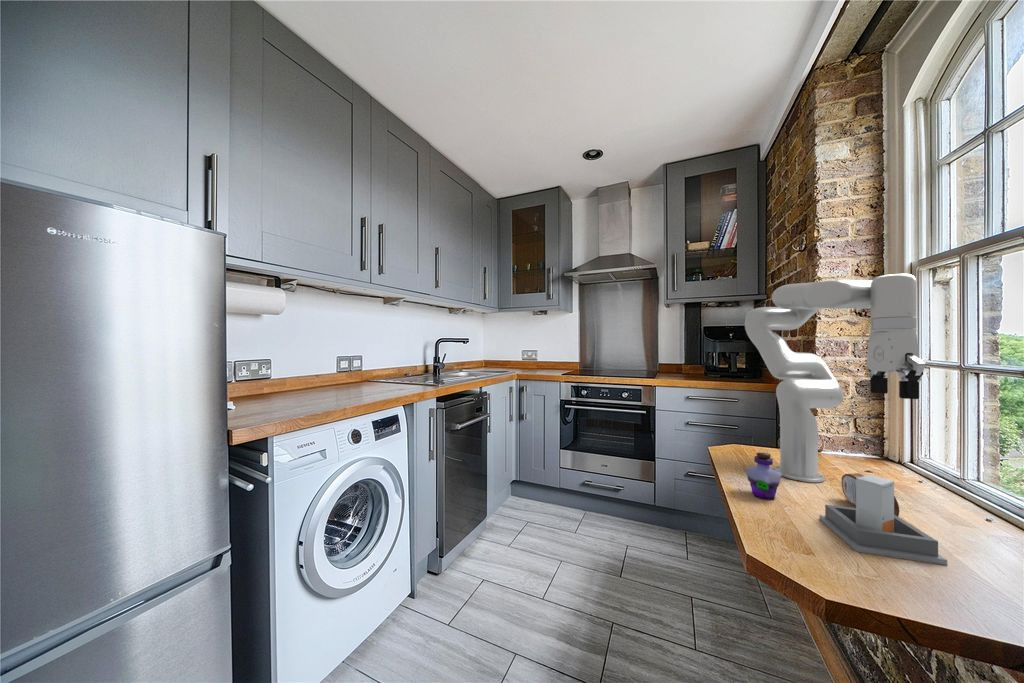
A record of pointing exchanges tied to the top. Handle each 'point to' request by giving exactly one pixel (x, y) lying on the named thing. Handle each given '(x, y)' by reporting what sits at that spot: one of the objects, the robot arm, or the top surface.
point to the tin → (850, 490)
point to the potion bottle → (763, 477)
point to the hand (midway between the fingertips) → (893, 395)
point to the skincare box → (875, 503)
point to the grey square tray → (882, 537)
